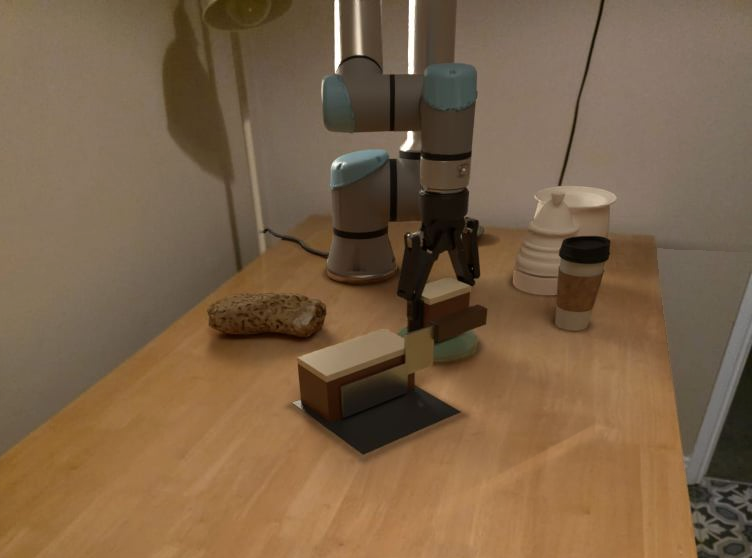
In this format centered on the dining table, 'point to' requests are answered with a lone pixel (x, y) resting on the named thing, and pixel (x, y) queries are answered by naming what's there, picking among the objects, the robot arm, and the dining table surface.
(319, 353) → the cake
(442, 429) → the dining table surface
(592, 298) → the coffee cup
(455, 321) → the square cleaver
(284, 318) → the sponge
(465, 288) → the cake slice
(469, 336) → the serving plate
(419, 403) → the cake board
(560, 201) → the honey pot
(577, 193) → the pot
